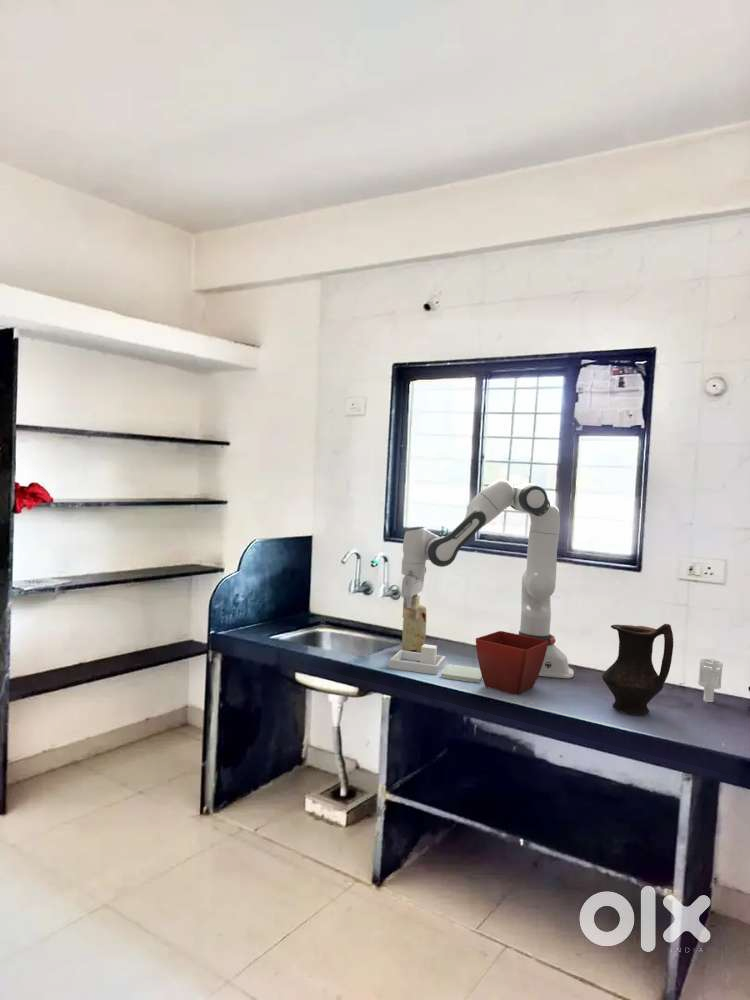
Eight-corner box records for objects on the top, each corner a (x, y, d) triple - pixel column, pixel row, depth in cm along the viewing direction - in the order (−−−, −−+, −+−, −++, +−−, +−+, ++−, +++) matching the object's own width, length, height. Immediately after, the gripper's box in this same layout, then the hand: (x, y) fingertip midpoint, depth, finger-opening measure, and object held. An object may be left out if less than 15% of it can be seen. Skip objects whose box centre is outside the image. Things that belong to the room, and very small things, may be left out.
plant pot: (522, 700, 224) (526, 649, 224) (471, 686, 236) (474, 638, 235) (546, 688, 240) (549, 640, 239) (496, 676, 251) (500, 630, 251)
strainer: (700, 703, 233) (704, 659, 233) (694, 697, 240) (697, 654, 240) (722, 705, 232) (726, 661, 232) (715, 699, 239) (718, 656, 239)
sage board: (485, 673, 254) (485, 669, 254) (480, 683, 241) (480, 679, 240) (447, 668, 258) (448, 664, 258) (440, 677, 244) (441, 673, 244)
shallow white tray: (445, 664, 263) (445, 656, 263) (436, 674, 248) (437, 666, 248) (399, 657, 268) (400, 650, 268) (388, 667, 253) (389, 659, 253)
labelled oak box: (418, 616, 260) (419, 595, 260) (415, 619, 256) (416, 597, 255) (405, 615, 262) (406, 593, 262) (402, 617, 257) (403, 595, 257)
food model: (398, 652, 276) (401, 603, 275) (404, 649, 282) (407, 601, 282) (421, 656, 272) (424, 606, 271) (427, 653, 278) (430, 604, 278)
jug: (588, 708, 221) (595, 615, 220) (615, 697, 234) (622, 610, 233) (653, 728, 206) (661, 628, 205) (678, 715, 219) (685, 622, 218)
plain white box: (435, 666, 259) (437, 645, 258) (433, 670, 254) (434, 648, 254) (422, 665, 260) (424, 644, 260) (419, 668, 255) (421, 646, 255)
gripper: (415, 573, 247) (413, 611, 248) (427, 567, 267) (425, 603, 267) (398, 572, 249) (396, 610, 250) (411, 566, 269) (409, 601, 269)
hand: (411, 606), depth 259 cm, fingers closed on labelled oak box, 5 cm apart
